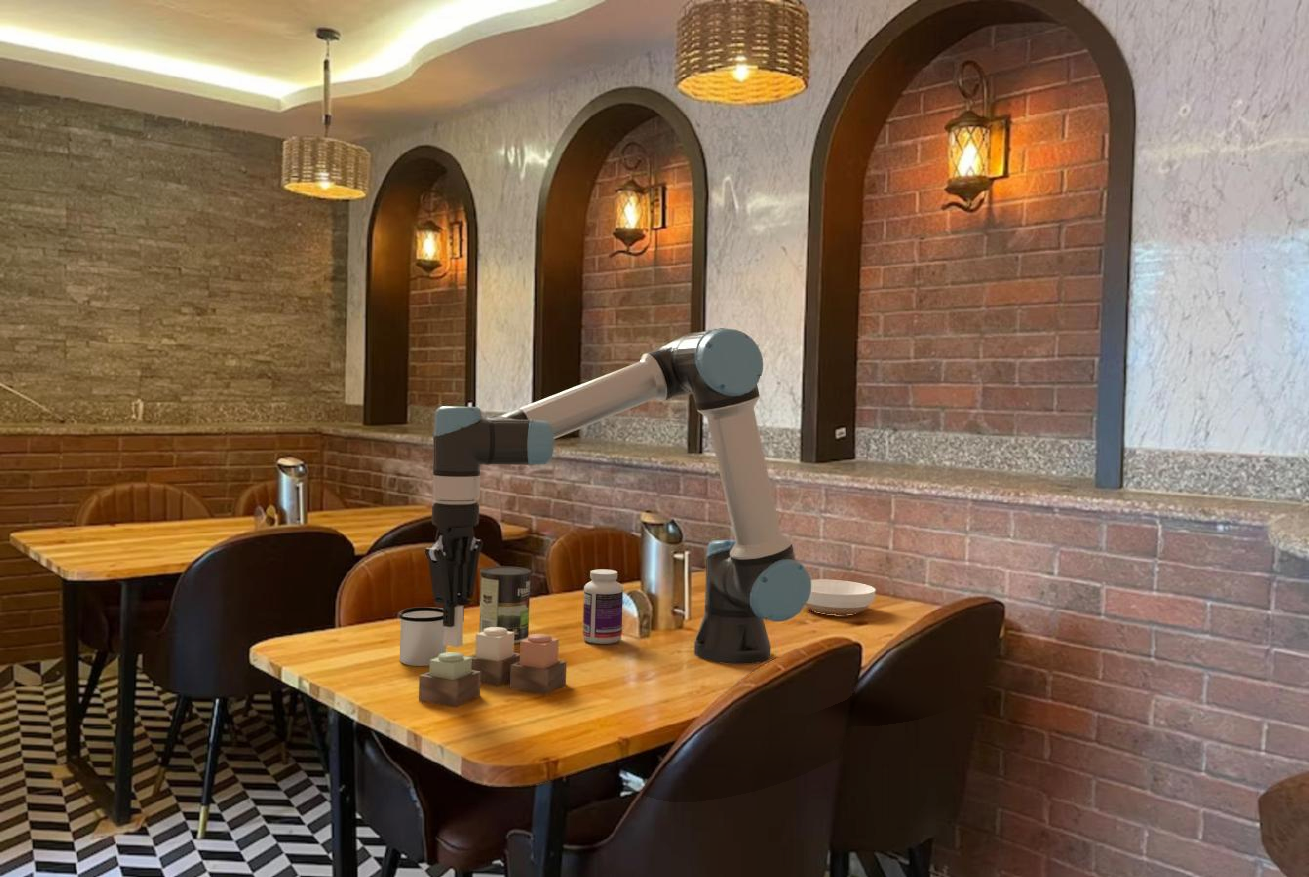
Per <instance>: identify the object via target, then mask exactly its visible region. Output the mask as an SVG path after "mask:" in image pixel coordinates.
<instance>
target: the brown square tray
mask: <svg viewBox="0 0 1309 877" xmlns="http://www.w3.org/2000/svg"><path fill="white" fill-rule="evenodd" d="M480 677H481V672H480V671H474V670H471V674H469V675H466V676H464V677H461V678H459V679H457V680H450V679H444V678H439V677H433V676H429V671H428V672H425V673H422V674H420V675H419V681H418V684H419V686H418V701H421V702H428V703H433V704H439V705H441V706H442V705H443V706H448V707H453V708H456V707H458V706H460V705H462V704H464V703H468V702H469V701H471V700H473V699H475V698H477V697H480V696H481V683H480Z"/></svg>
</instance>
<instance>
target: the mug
mask: <svg viewBox="0 0 1309 877" xmlns="http://www.w3.org/2000/svg"><path fill="white" fill-rule="evenodd" d="M397 618H398V619H399V620H400V636H399V638H400V639H399V662H400V663H402V664H404V665H406V666H411V667H430V660H432V659H434V658H437V657H438V656H439V654H441V653H446V652H447V646H446V645H443V639H444V626H443V607H432V606H431V607H429V606H423V607H422V606H420V607H419V606H418V607H410V608H406V609H405V608H404V609H402V610H400V611H398V612H397Z"/></svg>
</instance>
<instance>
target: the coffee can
mask: <svg viewBox="0 0 1309 877" xmlns="http://www.w3.org/2000/svg"><path fill="white" fill-rule="evenodd" d="M531 576H532V570H531V569H529V568H526V567H519V566H505V565H504V566H489V567H485V568H482V569H480V590H479V591H480V597H479V626H478V627H479V631H478V633H481V632H484V629H485V628H490V627H501V628H505V629H507V631H510V632H514V645H516V644H520V641H522V640H524V639H527V638H528V636H529V635H530V634H529V633H530V632H529V631H530V630H529V629H530V628H529V627H530V601H531V600H530V597H531Z"/></svg>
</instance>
